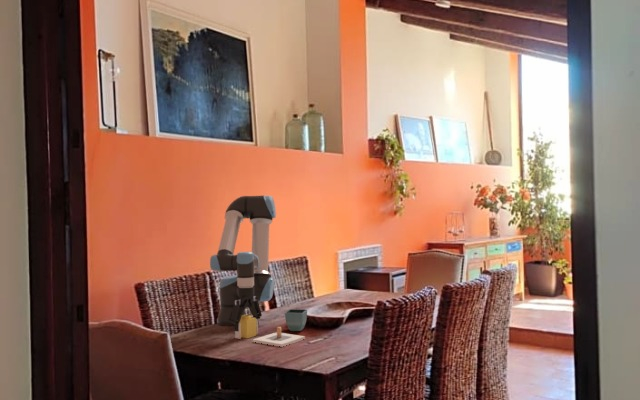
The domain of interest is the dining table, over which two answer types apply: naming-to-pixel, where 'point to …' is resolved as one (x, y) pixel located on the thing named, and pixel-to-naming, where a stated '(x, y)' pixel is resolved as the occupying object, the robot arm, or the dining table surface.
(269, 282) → the robot arm
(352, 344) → the dining table surface
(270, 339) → the post board
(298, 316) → the flower pot
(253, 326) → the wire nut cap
